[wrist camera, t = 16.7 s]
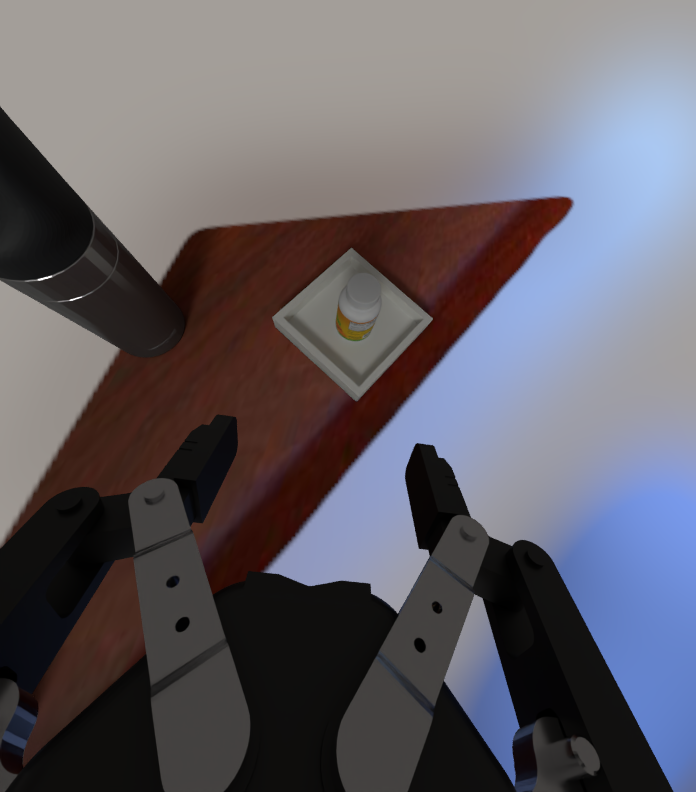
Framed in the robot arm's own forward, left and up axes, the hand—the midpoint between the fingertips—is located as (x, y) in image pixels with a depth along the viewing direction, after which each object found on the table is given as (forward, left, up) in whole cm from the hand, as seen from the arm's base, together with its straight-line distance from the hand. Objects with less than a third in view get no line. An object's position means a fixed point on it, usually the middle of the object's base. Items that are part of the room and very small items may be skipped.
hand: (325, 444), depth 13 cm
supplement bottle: (-9, +17, -26) cm, 32 cm away
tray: (-9, +17, -27) cm, 33 cm away
